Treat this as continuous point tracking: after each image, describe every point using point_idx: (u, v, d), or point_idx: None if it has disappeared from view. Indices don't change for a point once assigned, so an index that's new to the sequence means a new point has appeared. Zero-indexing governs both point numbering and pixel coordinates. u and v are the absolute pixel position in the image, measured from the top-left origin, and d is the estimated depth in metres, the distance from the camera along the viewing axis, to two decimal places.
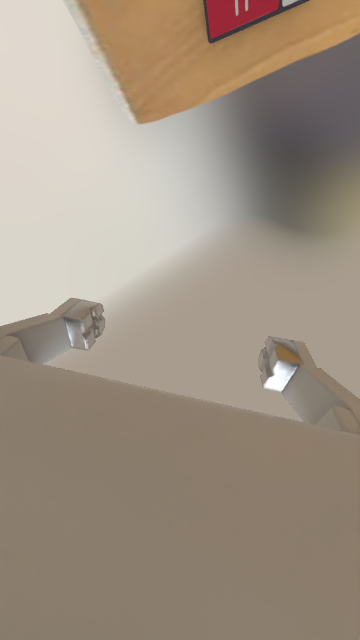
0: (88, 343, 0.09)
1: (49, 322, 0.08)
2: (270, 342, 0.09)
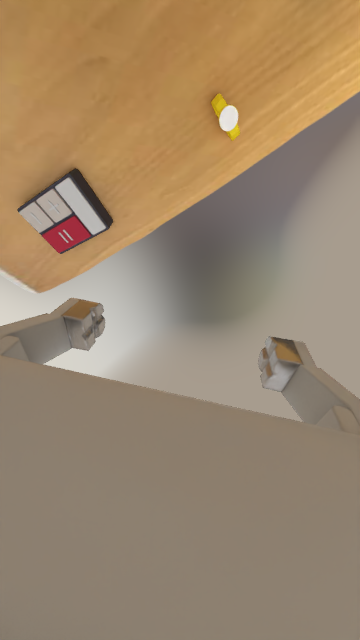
0: (88, 343, 0.09)
1: (49, 322, 0.08)
2: (270, 342, 0.09)
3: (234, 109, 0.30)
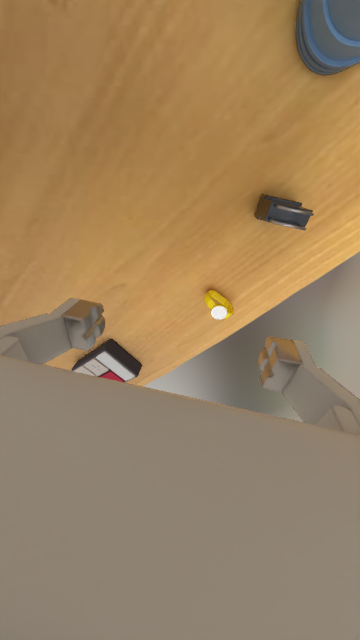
0: (88, 343, 0.09)
1: (49, 322, 0.08)
2: (270, 342, 0.09)
3: (222, 307, 0.35)
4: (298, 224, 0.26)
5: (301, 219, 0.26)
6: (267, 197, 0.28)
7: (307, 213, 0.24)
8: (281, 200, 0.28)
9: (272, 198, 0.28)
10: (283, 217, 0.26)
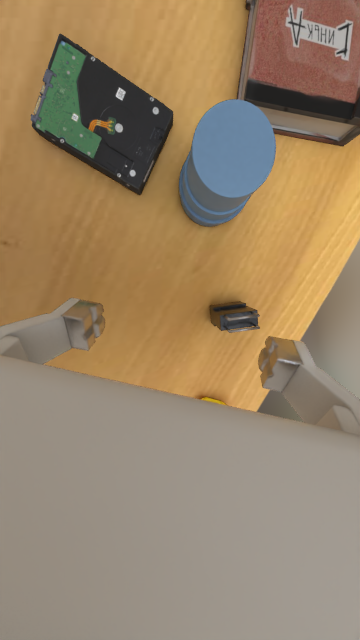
0: (88, 343, 0.09)
1: (49, 322, 0.08)
2: (270, 342, 0.09)
3: None
4: (251, 323, 0.28)
5: (251, 319, 0.28)
6: (215, 308, 0.32)
7: (253, 316, 0.26)
8: (227, 306, 0.32)
9: (219, 308, 0.32)
10: (235, 322, 0.28)
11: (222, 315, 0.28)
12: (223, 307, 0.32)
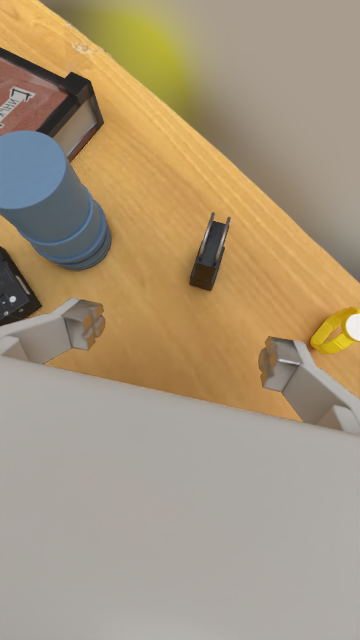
0: (88, 343, 0.09)
1: (49, 322, 0.08)
2: (270, 342, 0.09)
3: (348, 322, 0.21)
4: (223, 231, 0.22)
5: (217, 229, 0.22)
6: (192, 275, 0.25)
7: (211, 218, 0.20)
8: None
9: (194, 270, 0.25)
10: (214, 248, 0.21)
11: (197, 260, 0.21)
12: (195, 265, 0.25)
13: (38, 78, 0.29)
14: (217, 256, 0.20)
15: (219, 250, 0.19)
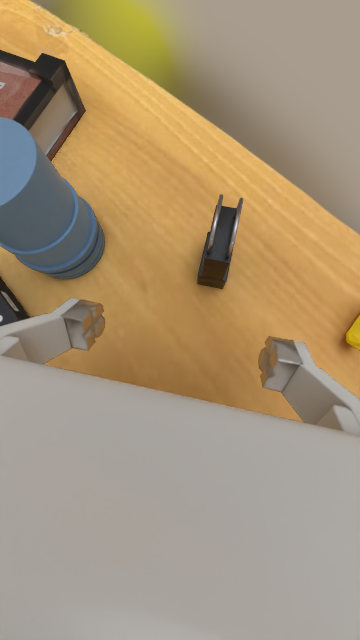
0: (88, 343, 0.09)
1: (49, 322, 0.08)
2: (270, 342, 0.09)
3: None
4: (234, 217, 0.18)
5: (227, 215, 0.18)
6: (200, 273, 0.21)
7: (219, 202, 0.16)
8: (204, 255, 0.22)
9: (201, 266, 0.22)
10: (225, 238, 0.18)
11: (206, 254, 0.18)
12: (202, 261, 0.22)
13: (7, 65, 0.25)
14: (230, 248, 0.16)
15: (233, 240, 0.16)
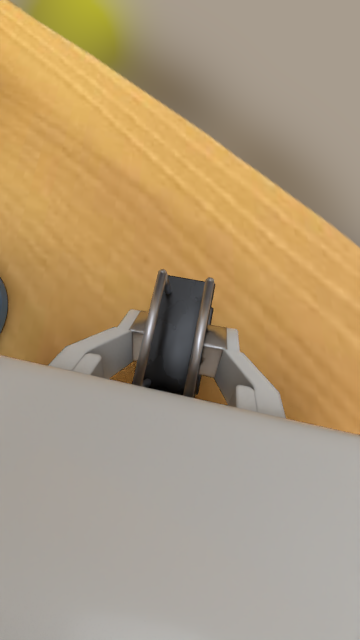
0: None
1: (120, 336, 0.08)
2: None
3: None
4: (201, 302, 0.09)
5: (187, 297, 0.09)
6: None
7: (157, 290, 0.07)
8: None
9: None
10: (181, 351, 0.08)
11: None
12: None
13: None
14: None
15: (188, 396, 0.06)
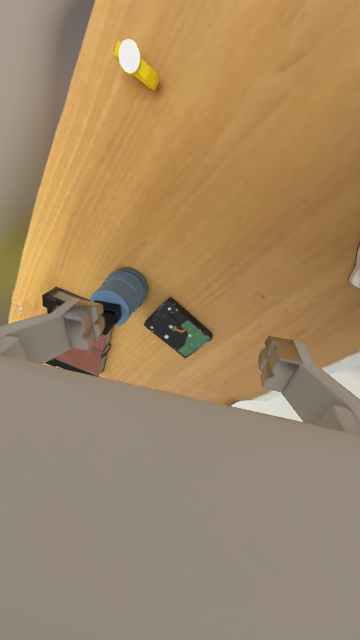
0: (88, 343, 0.09)
1: (49, 322, 0.08)
2: (270, 342, 0.09)
3: (128, 70, 0.26)
4: None
5: None
6: None
7: None
8: None
9: None
10: None
11: (104, 334, 0.36)
12: None
13: None
14: None
15: None
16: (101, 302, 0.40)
